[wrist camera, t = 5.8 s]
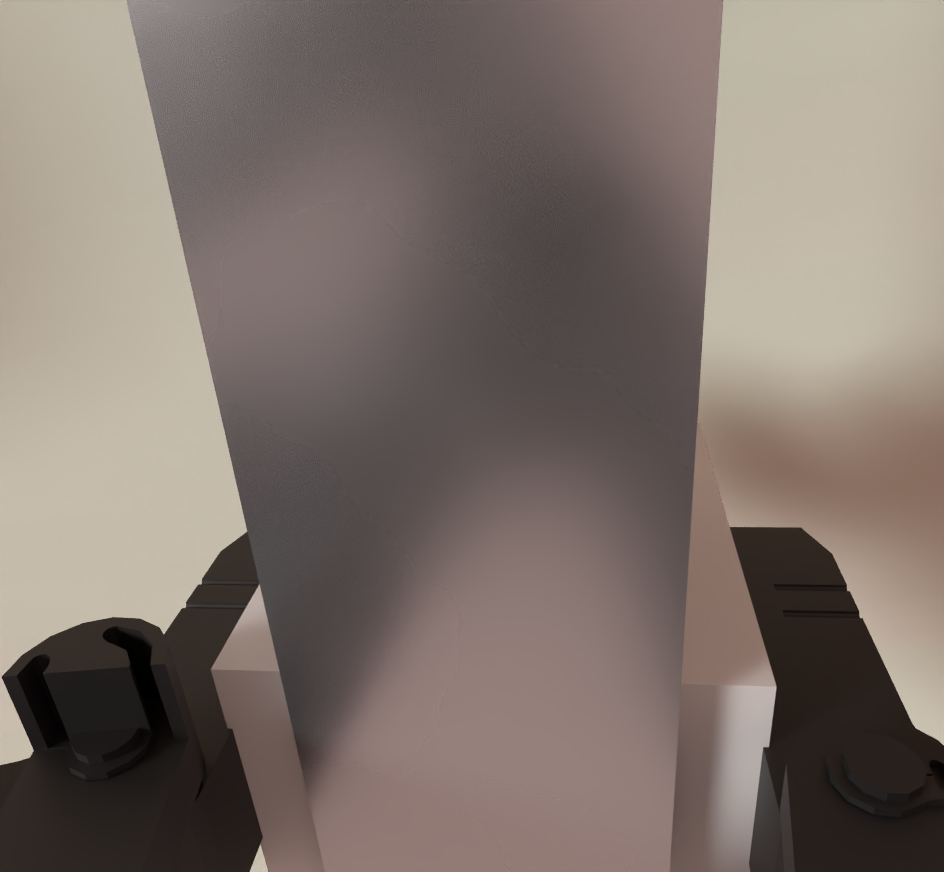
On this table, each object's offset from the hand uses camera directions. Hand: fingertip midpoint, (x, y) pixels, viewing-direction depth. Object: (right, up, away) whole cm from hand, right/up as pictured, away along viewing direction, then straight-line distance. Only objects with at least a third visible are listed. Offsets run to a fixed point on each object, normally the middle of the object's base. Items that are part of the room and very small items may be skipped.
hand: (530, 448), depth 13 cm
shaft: (-1, +7, -8) cm, 10 cm away
